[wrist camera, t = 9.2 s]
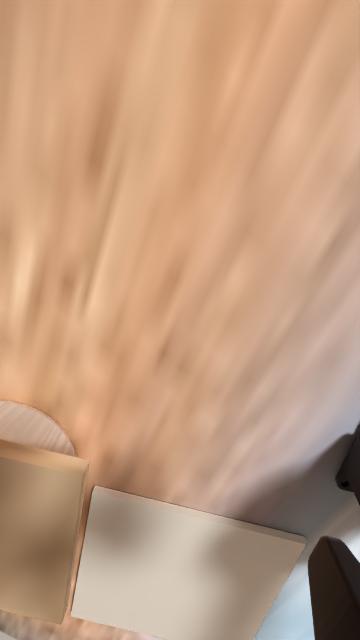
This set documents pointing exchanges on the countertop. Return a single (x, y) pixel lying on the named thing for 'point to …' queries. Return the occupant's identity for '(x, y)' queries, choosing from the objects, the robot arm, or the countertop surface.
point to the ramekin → (32, 428)
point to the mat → (178, 569)
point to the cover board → (38, 529)
